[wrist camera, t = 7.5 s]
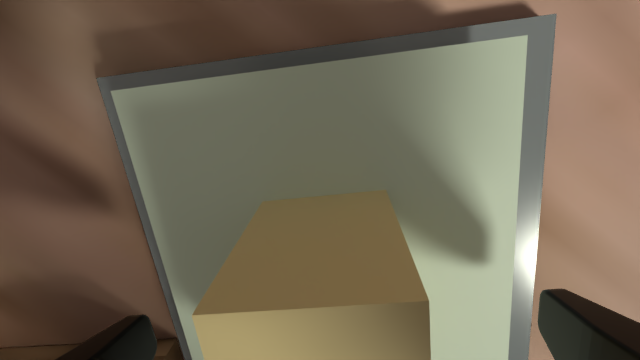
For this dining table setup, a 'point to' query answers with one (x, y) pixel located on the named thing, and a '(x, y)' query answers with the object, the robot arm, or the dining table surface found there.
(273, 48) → the dining table surface
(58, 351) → the box
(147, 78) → the coaster
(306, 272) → the lid
